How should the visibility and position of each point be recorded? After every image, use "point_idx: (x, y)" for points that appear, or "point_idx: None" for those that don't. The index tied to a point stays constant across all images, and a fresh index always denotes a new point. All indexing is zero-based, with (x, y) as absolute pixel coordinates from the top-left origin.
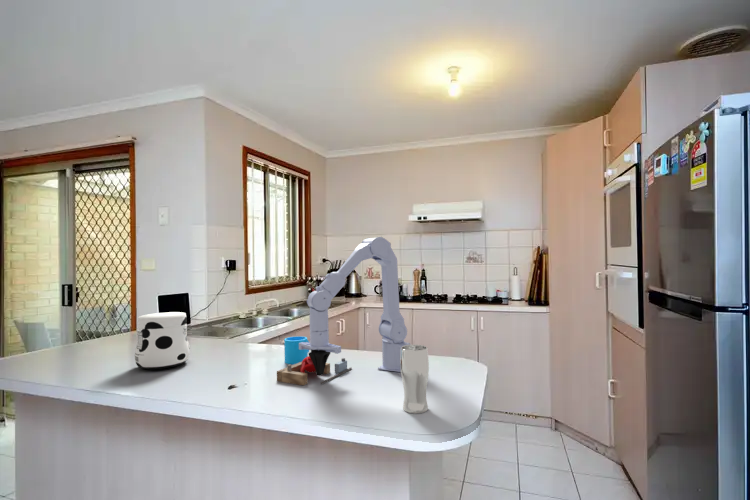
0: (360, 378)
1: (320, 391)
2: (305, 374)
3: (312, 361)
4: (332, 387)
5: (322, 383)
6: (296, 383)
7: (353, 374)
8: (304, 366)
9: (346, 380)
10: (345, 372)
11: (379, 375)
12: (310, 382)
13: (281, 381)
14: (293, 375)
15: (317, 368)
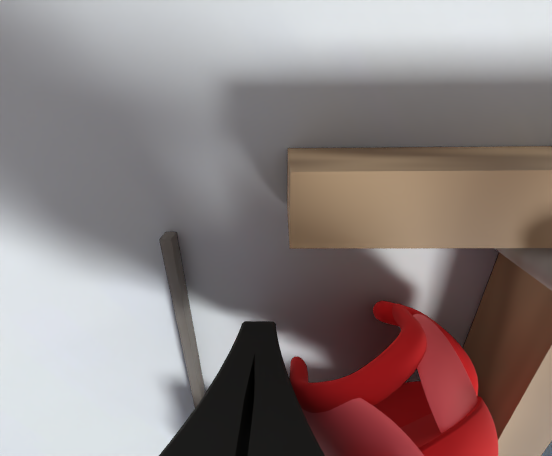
0: (57, 398)
1: (31, 78)
2: (289, 215)
3: (308, 435)
4: (44, 210)
5: (164, 241)
6: (368, 150)
7: (145, 429)
8: (407, 357)
9: (93, 351)
10: None
11: (21, 452)
12: (282, 237)
13: (549, 146)
14: (438, 166)
15: (249, 366)
